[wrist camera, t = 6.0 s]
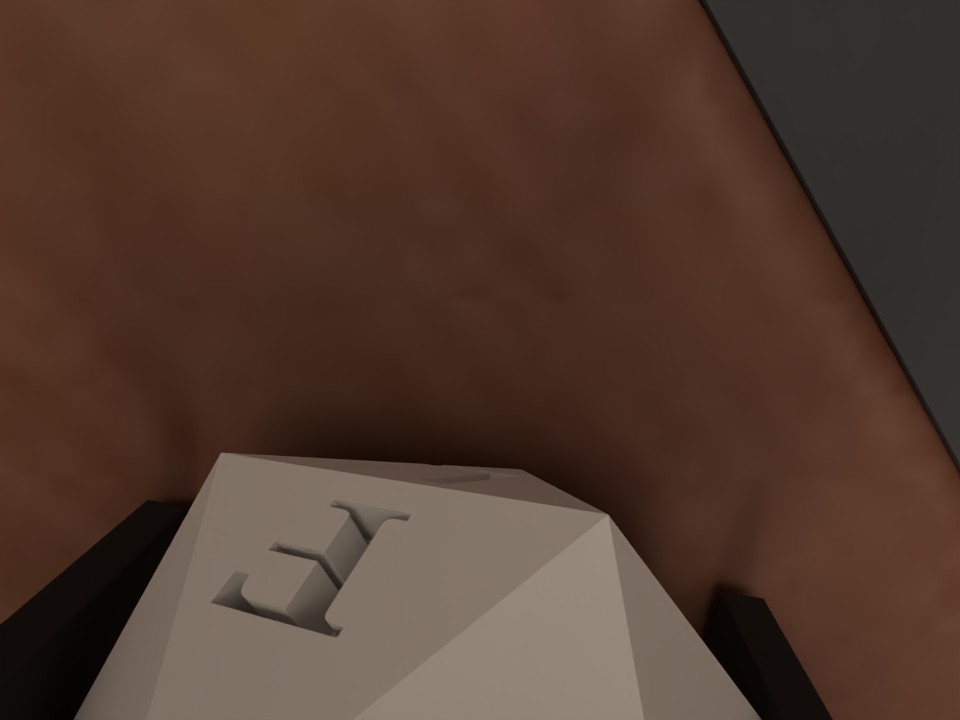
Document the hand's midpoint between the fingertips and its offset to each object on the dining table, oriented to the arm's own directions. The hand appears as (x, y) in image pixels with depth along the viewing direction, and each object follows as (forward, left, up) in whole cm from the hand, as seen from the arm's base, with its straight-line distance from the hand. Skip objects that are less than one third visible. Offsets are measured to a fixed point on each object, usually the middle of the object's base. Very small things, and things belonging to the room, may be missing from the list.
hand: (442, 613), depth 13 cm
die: (0, 0, -1) cm, 1 cm away
